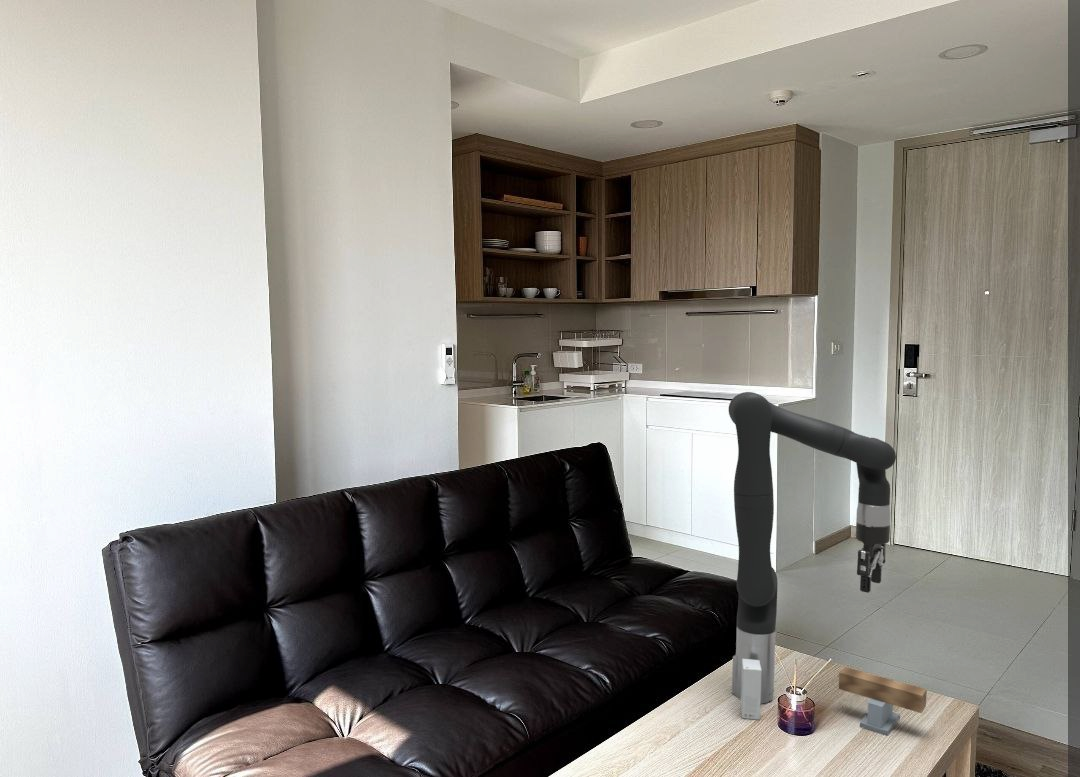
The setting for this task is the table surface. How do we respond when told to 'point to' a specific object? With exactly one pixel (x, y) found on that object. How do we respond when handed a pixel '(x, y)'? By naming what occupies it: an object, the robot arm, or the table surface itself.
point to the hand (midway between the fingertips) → (870, 587)
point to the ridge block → (880, 717)
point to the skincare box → (750, 689)
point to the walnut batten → (883, 689)
